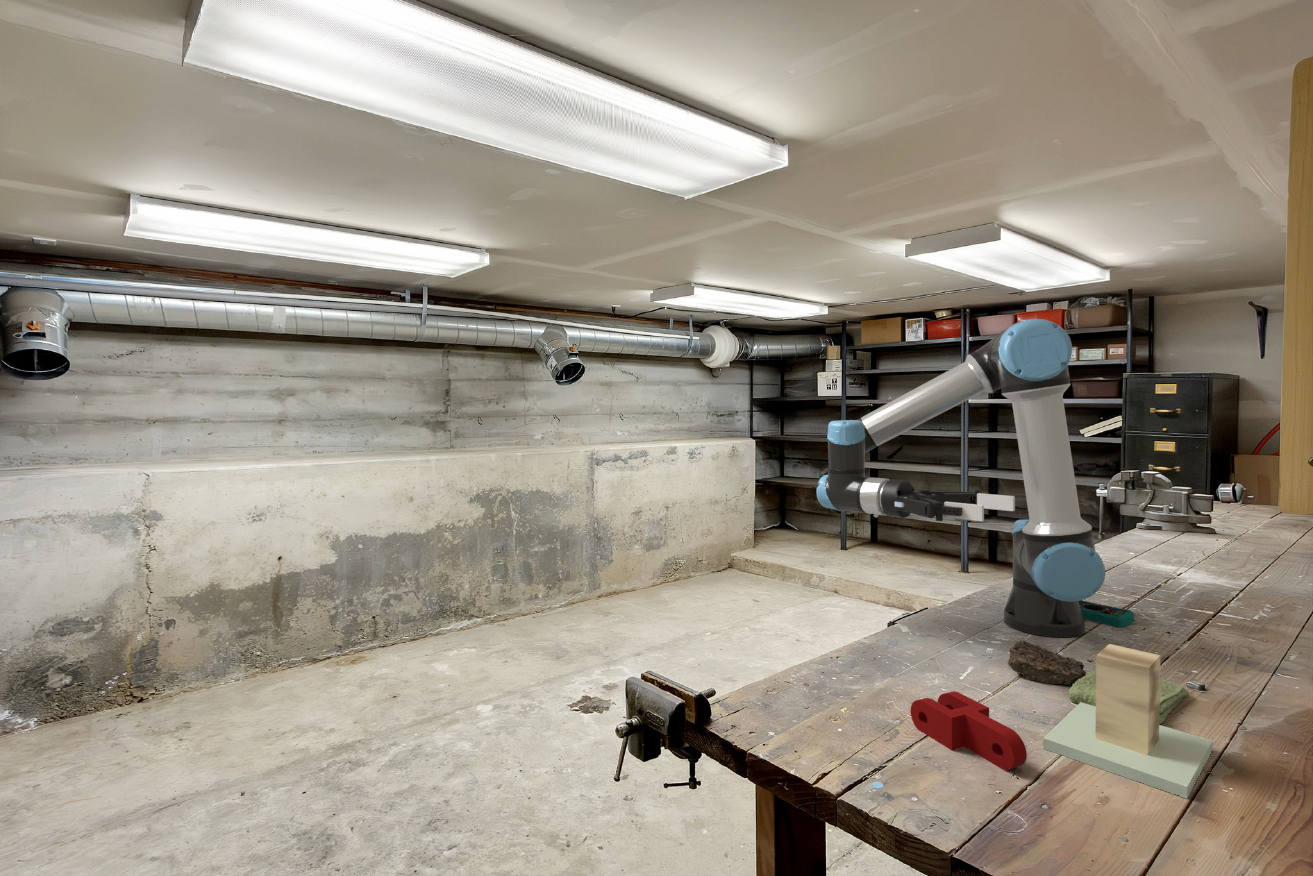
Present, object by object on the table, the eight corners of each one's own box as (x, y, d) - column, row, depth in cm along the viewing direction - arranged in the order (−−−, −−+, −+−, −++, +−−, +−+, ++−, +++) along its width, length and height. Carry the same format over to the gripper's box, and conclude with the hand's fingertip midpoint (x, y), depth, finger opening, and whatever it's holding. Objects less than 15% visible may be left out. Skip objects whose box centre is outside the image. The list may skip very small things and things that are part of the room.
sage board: (1080, 711, 102) (1080, 702, 102) (1212, 751, 90) (1212, 740, 90) (1043, 748, 92) (1043, 738, 92) (1186, 798, 80) (1187, 787, 80)
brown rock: (1000, 676, 116) (1000, 648, 116) (1021, 660, 123) (1021, 633, 123) (1074, 696, 108) (1074, 666, 108) (1091, 678, 115) (1092, 650, 114)
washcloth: (1192, 699, 107) (1192, 679, 106) (1157, 734, 96) (1158, 713, 96) (1100, 673, 117) (1100, 656, 117) (1060, 703, 106) (1060, 683, 106)
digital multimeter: (1123, 631, 138) (1123, 617, 138) (1049, 613, 150) (1049, 600, 150) (1137, 623, 142) (1137, 610, 142) (1064, 606, 154) (1064, 594, 154)
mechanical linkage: (910, 726, 99) (910, 694, 99) (946, 717, 102) (946, 686, 102) (1000, 782, 85) (1000, 744, 84) (1039, 769, 87) (1039, 733, 87)
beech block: (1108, 724, 95) (1109, 643, 95) (1158, 739, 91) (1160, 655, 90) (1095, 738, 91) (1096, 655, 91) (1147, 755, 87) (1149, 667, 86)
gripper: (918, 508, 140) (1025, 519, 124) (855, 524, 124) (968, 540, 108) (918, 473, 140) (1025, 480, 124) (854, 485, 123) (968, 495, 107)
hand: (999, 508), depth 116 cm, fingers open, 13 cm apart
